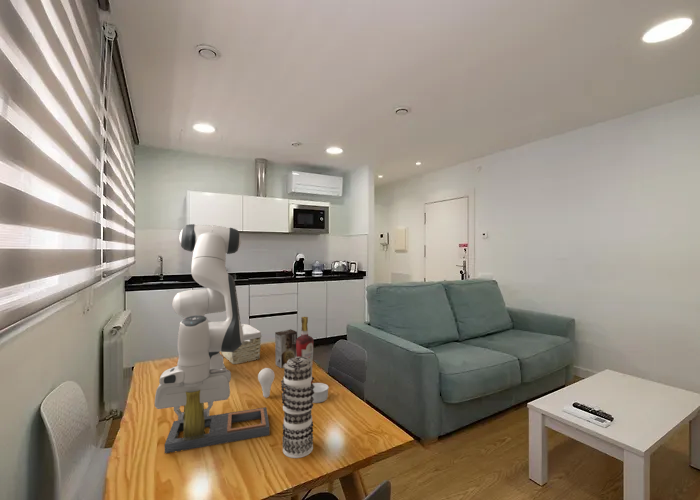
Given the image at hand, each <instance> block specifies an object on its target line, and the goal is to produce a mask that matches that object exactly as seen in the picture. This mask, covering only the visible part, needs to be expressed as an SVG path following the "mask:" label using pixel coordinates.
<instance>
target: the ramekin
mask: <svg viewBox="0 0 700 500" xmlns="http://www.w3.org/2000/svg"><path fill="white" fill-rule="evenodd" d="M312 384H313V385H314V388H313V391H314V394H313V395H312V397H313V399H314V400H313V402H312V404H319V403H323V402H325V401H327V400H328V396H329V387H330V386H329V385H328V384H326V383H323V382H312Z"/></svg>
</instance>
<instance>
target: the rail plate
mask: <svg viewBox="0 0 700 500" xmlns="http://www.w3.org/2000/svg"><path fill="white" fill-rule="evenodd" d="M267 408H268V407H266V406H265V407H259V408H253V409H246V410H240V411H239V410H238V411H232V412H226V413H218V414H212V415H209V416H208V417H204V421H205V428H209V431H208V433H205V434H202V435H196V436H190V437H184V438H183V437H179V435H180V433H181V432H183V430H184V420H181V421H178V420H175V421H173V422H172V425H171V428H170V430H169V433H168V436H167V438H166V440H165V443H164V454H165V453H166V454H171V453H175V451H177V452H182V451H181V450H183V451H187V450H188V451H189V450H193V449H198V448H204V447H210V446H215V445H221V444H226V443H227V444H228V443H233V442H237V441H238V442H239V441H244V440H249V439H254V438H255V439H256V438H262V437H267V436H270V423H269V416H268V410H267ZM258 419H260V423H259V424H258V423H257V424H251V425H247V426H246V425H245V426H241V427H232V426H233V425H232V424H236V423H240V422H249V421H252V420H258ZM179 432H180V433H179ZM170 452H171V453H170Z"/></svg>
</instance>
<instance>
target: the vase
mask: <svg viewBox="0 0 700 500" xmlns="http://www.w3.org/2000/svg"><path fill="white" fill-rule="evenodd" d="M204 404H205V403H200V390H199V391H196V392H186V405H185V406H183V412H184V430H183V431H182V434H183V435H182V438H184V437H190V436H196V435H202V434H206V430H205V428H206V427H205V421H204V409H205V405H204Z"/></svg>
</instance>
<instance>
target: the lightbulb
mask: <svg viewBox="0 0 700 500" xmlns="http://www.w3.org/2000/svg"><path fill="white" fill-rule="evenodd" d="M257 380H258V382H259V384H260V387H261V391H262V396H263V397H264V398H265V399H267V398H269V397H270V395H271V388H272V384H273V382H274V380H275V372H274V370H273V369H271V368H269V367H263V368H262V369H261V370H260V371H259V373H258V374H257Z"/></svg>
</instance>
